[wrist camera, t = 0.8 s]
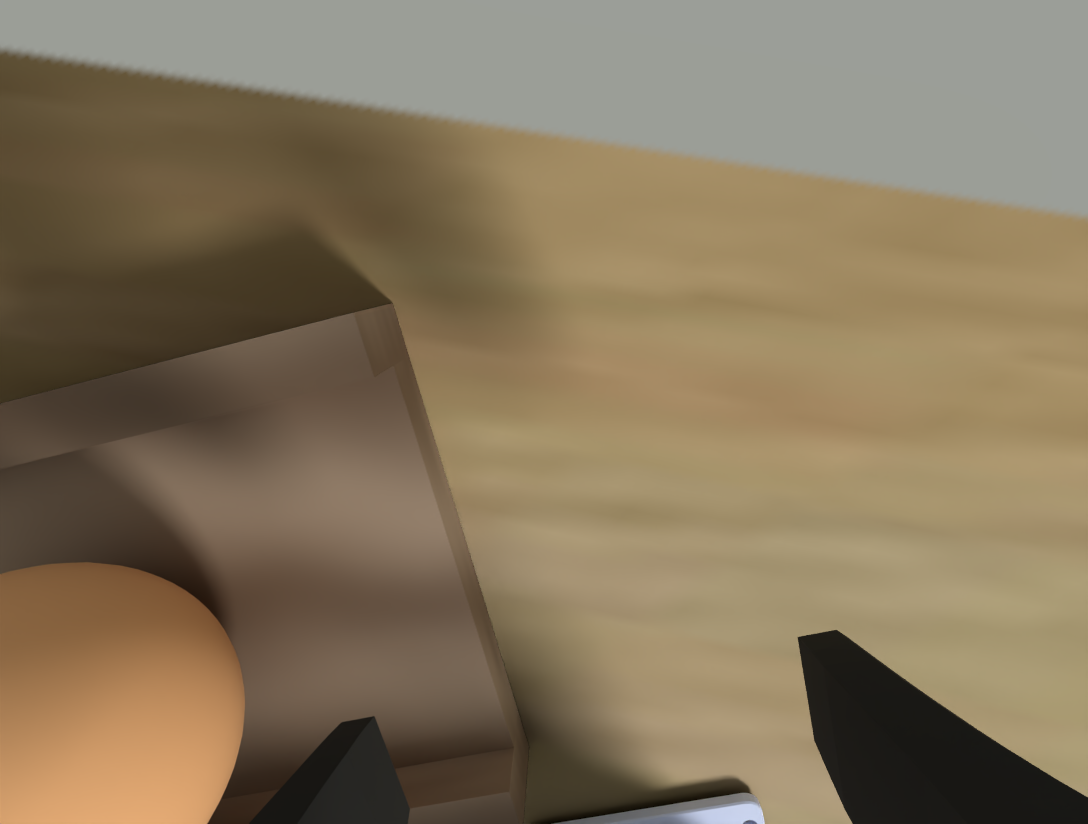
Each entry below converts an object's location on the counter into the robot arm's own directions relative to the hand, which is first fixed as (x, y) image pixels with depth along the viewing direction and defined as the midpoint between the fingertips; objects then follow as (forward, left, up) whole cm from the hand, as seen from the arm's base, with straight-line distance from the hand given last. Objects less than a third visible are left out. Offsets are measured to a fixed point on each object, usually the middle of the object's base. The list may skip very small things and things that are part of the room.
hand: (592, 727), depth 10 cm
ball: (0, +13, -2) cm, 13 cm away
